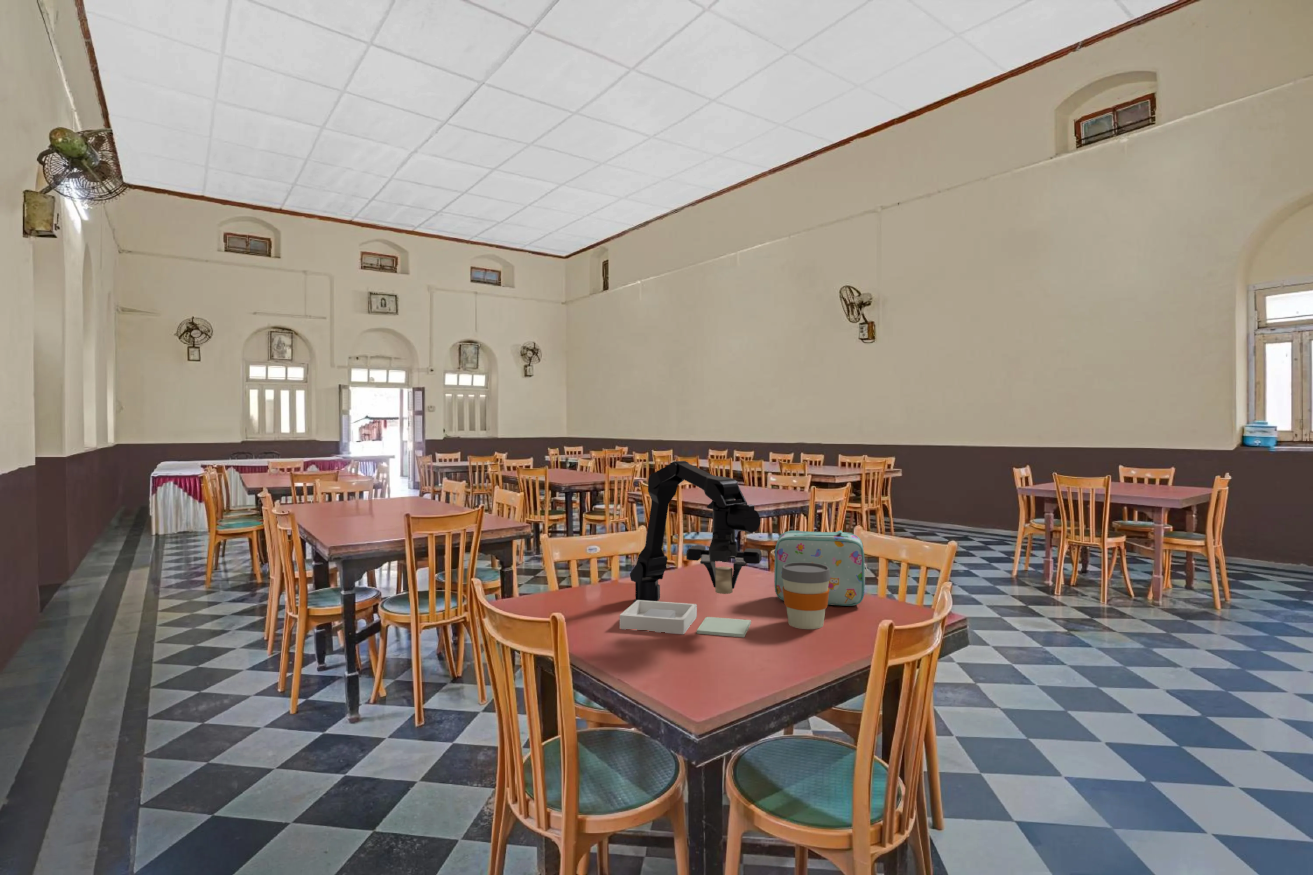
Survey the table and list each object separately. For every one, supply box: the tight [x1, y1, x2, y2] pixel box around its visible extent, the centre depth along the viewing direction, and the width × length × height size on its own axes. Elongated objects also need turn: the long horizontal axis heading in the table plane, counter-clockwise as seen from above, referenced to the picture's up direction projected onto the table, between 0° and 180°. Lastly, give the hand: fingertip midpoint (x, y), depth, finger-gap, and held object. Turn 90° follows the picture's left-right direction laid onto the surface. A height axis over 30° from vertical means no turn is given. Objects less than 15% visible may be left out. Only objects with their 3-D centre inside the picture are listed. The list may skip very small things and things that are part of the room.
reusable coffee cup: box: [781, 562, 830, 630], centre depth 174 cm, size 13×13×15 cm
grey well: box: [619, 600, 698, 635], centre depth 176 cm, size 17×15×4 cm
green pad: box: [696, 616, 752, 638], centre depth 171 cm, size 12×12×1 cm
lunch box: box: [773, 529, 869, 607], centre depth 195 cm, size 27×10×21 cm, turn 74°
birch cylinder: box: [714, 566, 733, 595], centre depth 171 cm, size 4×4×6 cm
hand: (724, 587), depth 171 cm, fingers closed on birch cylinder, 4 cm apart
